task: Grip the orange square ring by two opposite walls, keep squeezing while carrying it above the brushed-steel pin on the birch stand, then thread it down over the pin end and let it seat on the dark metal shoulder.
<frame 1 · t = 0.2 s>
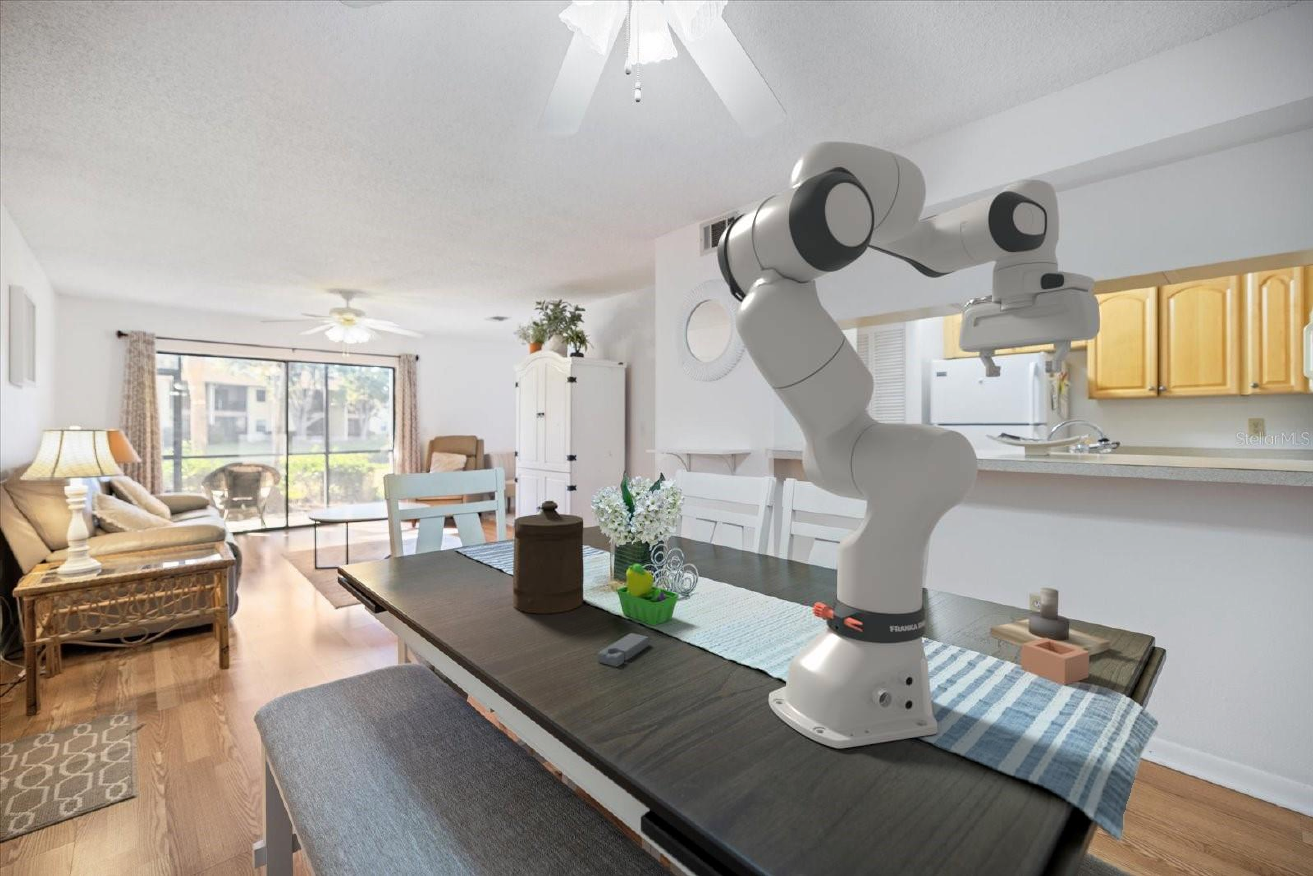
hand: (1021, 374, 92), 47 cm above the table, fingers open, 8 cm apart
bracket: (624, 657, 96), on the table
pin stand: (1048, 642, 102), on the table
orange square ring: (1054, 672, 90), on the table
fruit basket: (644, 618, 114), on the table
wooden container: (548, 604, 122), on the table
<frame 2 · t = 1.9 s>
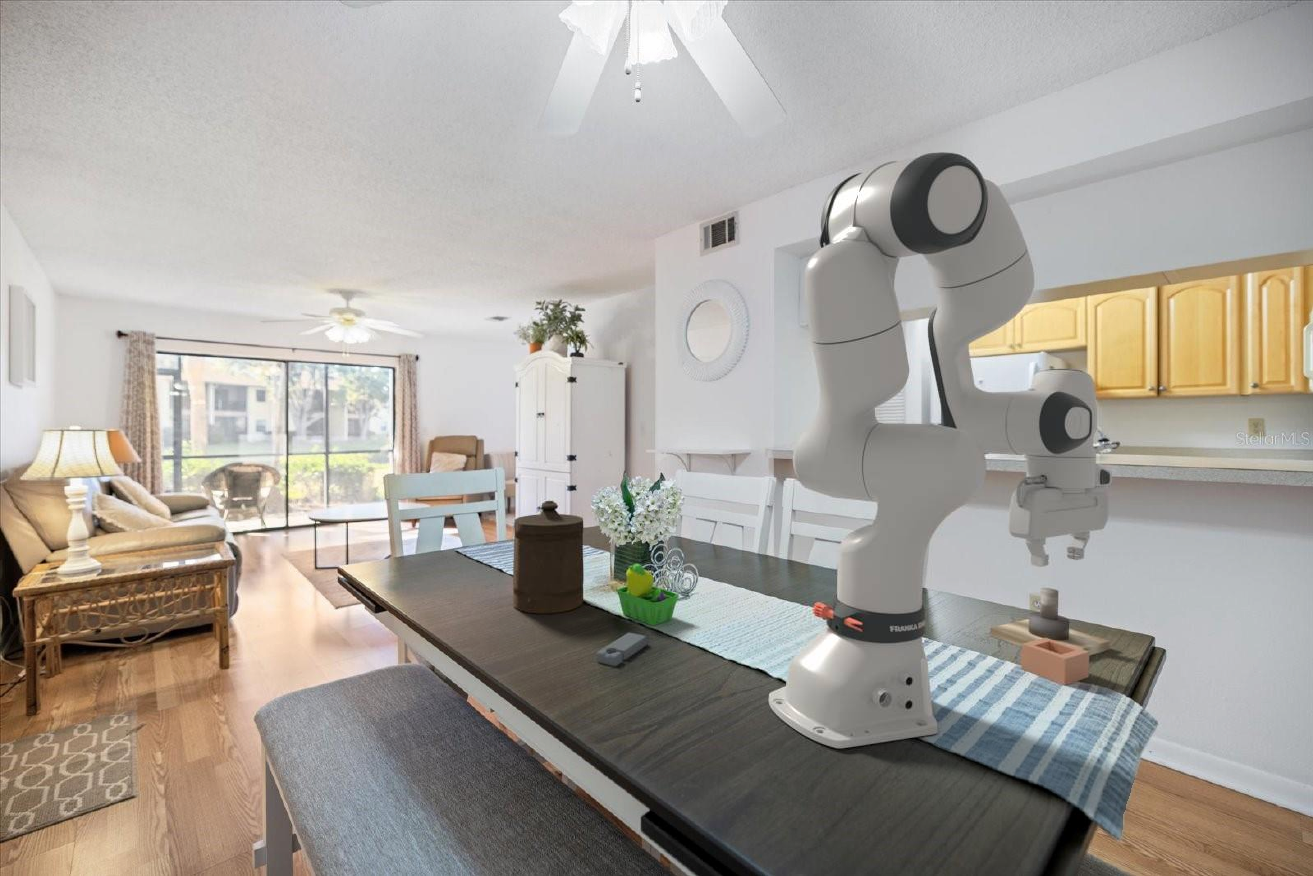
hand: (1057, 562, 89), 18 cm above the table, fingers open, 8 cm apart
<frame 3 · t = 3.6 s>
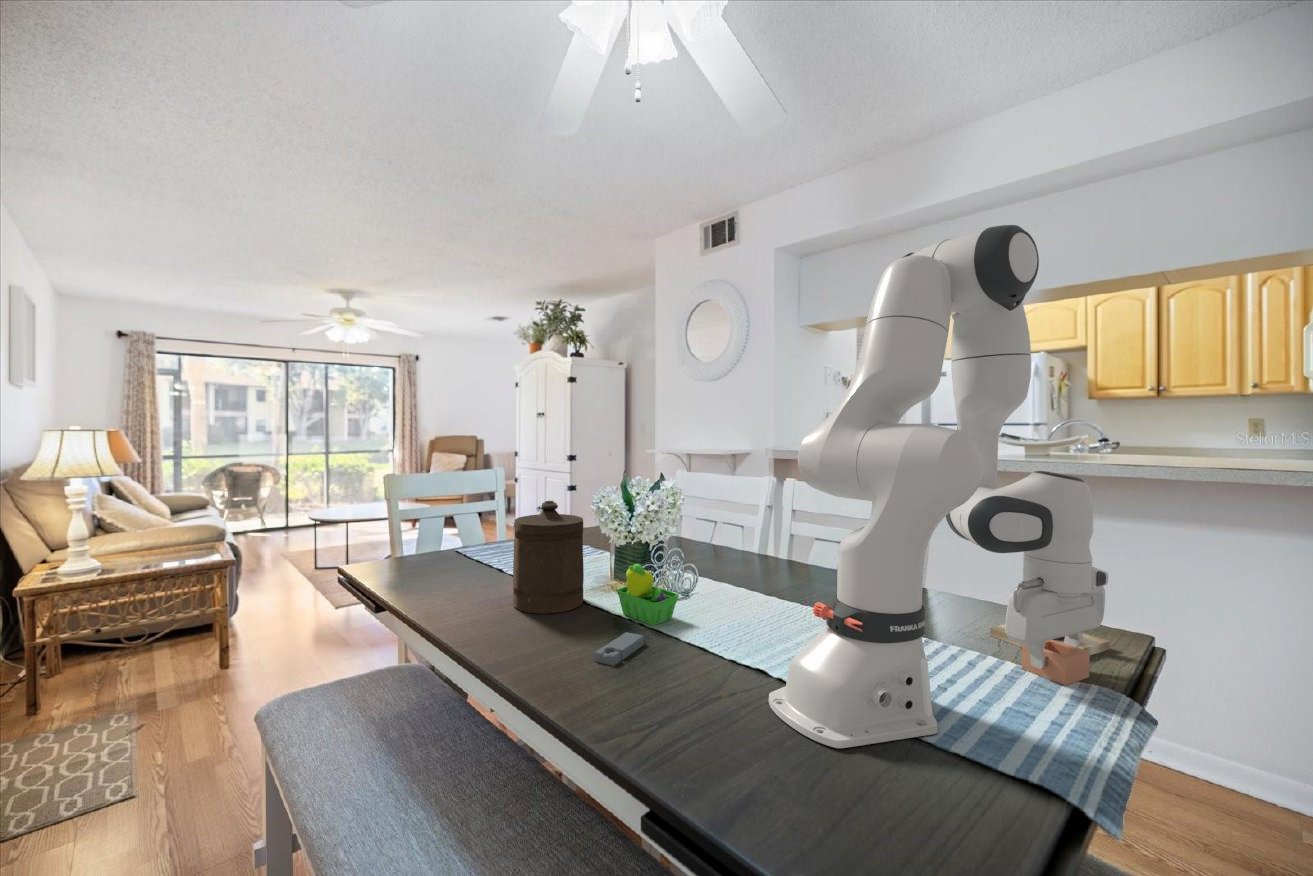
hand: (1054, 662, 90), 2 cm above the table, fingers closed on orange square ring, 6 cm apart
orange square ring: (1054, 673, 90), on the table, touching gripper
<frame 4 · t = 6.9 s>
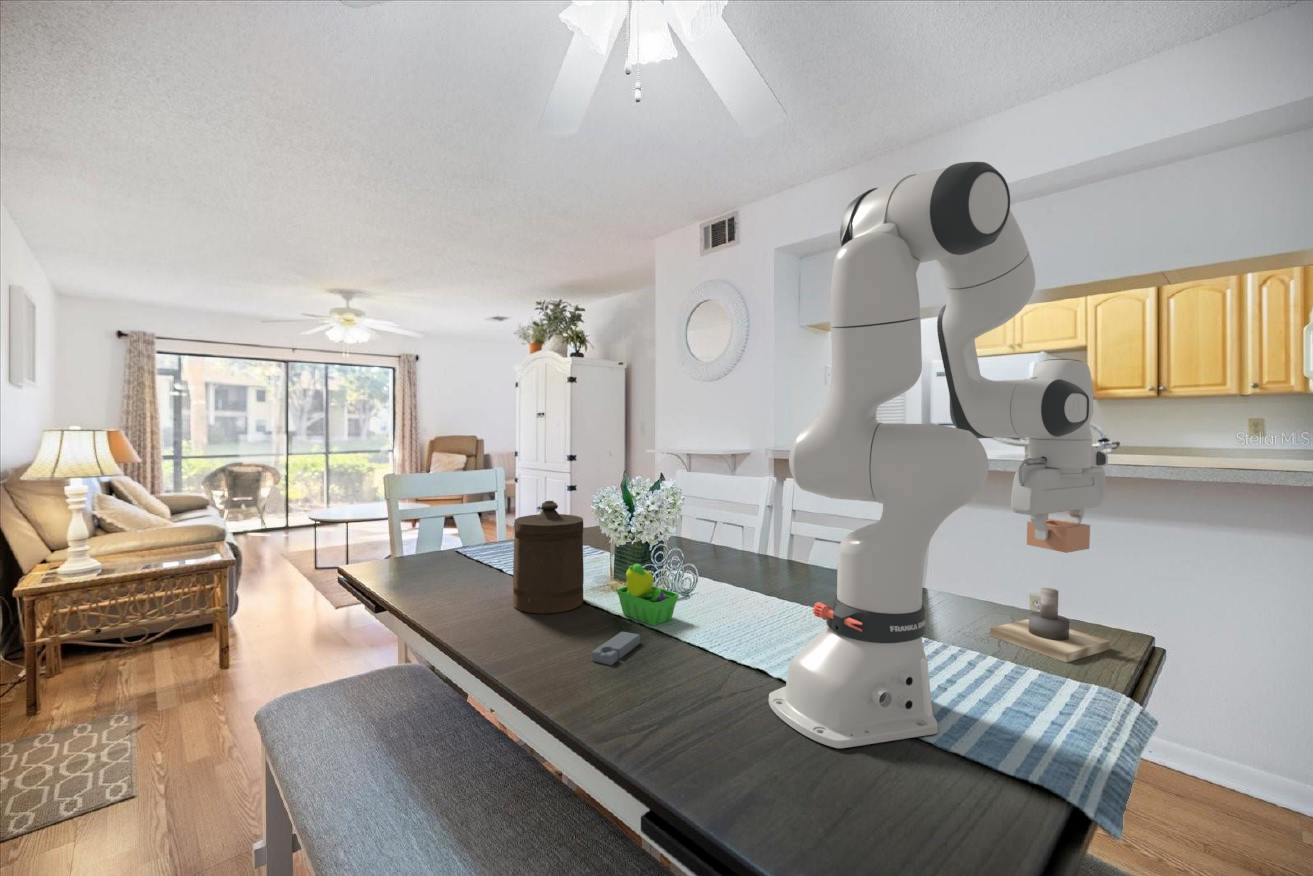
hand: (1057, 537, 97), 20 cm above the table, fingers closed on orange square ring, 6 cm apart
orange square ring: (1057, 546, 97), point 18 cm above the table, touching gripper
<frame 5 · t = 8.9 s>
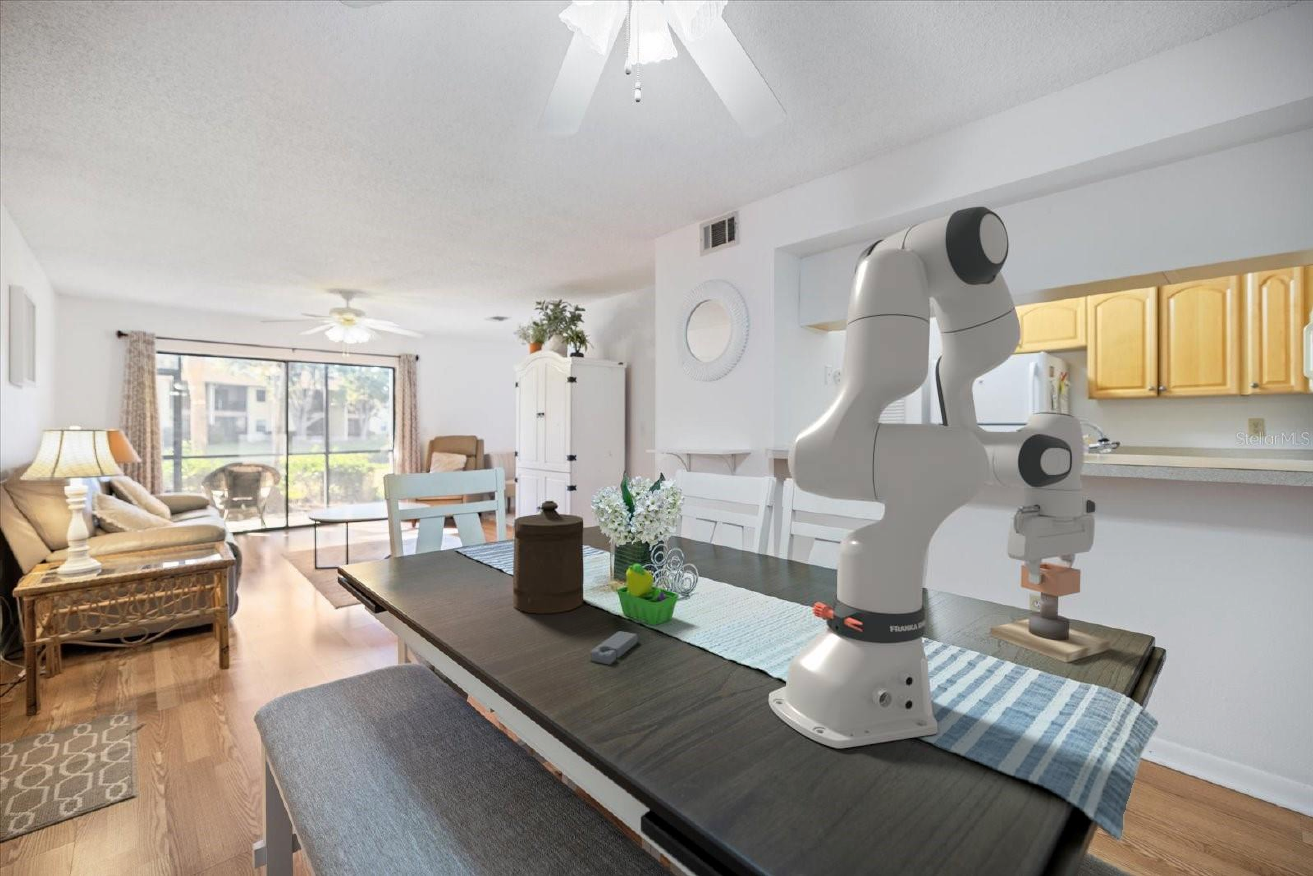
hand: (1049, 580, 102), 11 cm above the table, fingers closed on orange square ring, 6 cm apart
orange square ring: (1049, 589, 102), point 10 cm above the table, touching gripper
when the fingers open (7 cm above the table, at t = 10.2 s): orange square ring stays where it is, resting on pin stand.
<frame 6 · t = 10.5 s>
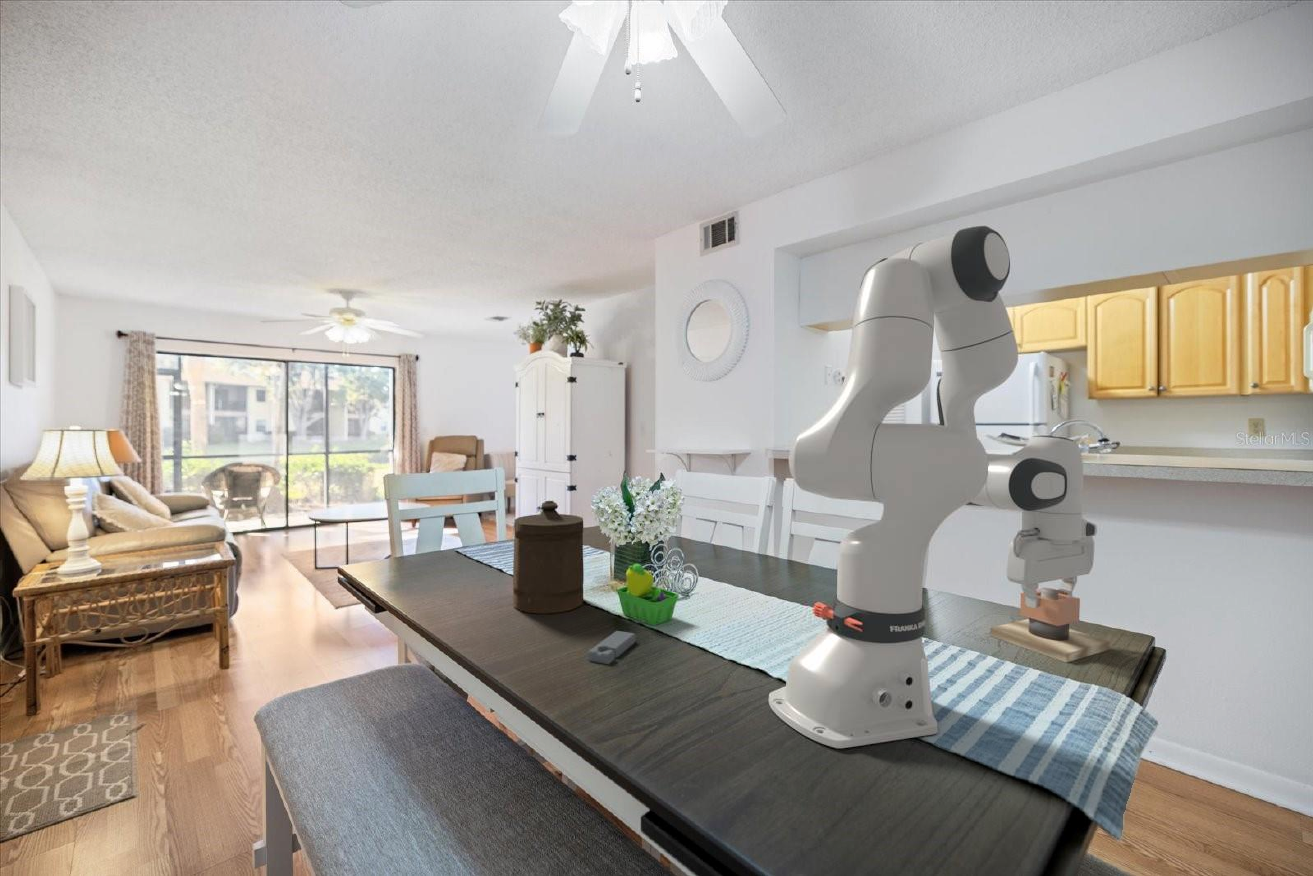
hand: (1049, 603, 102), 7 cm above the table, fingers open, 8 cm apart
orange square ring: (1049, 617, 102), point 4 cm above the table, touching pin stand
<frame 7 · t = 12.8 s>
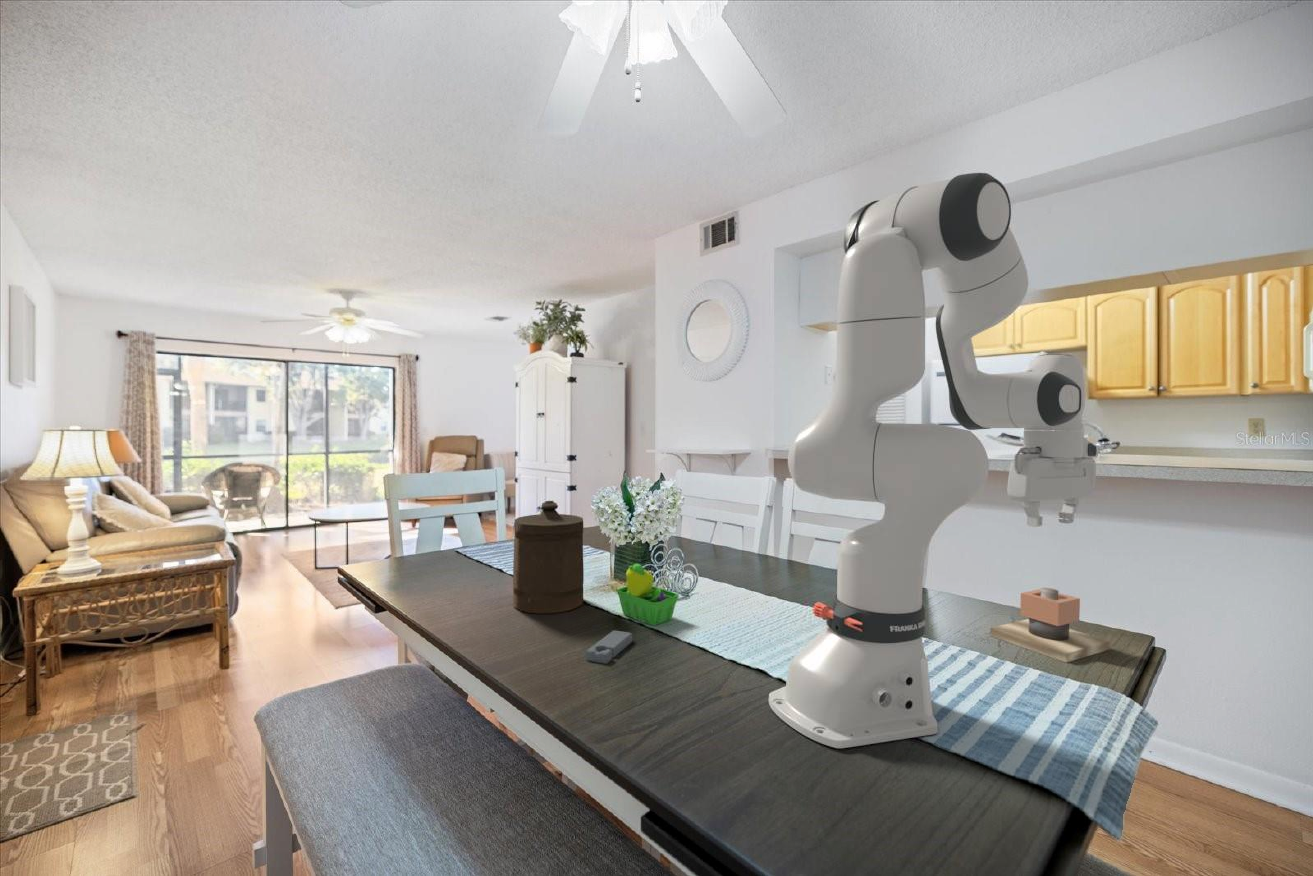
hand: (1050, 524, 102), 21 cm above the table, fingers open, 8 cm apart
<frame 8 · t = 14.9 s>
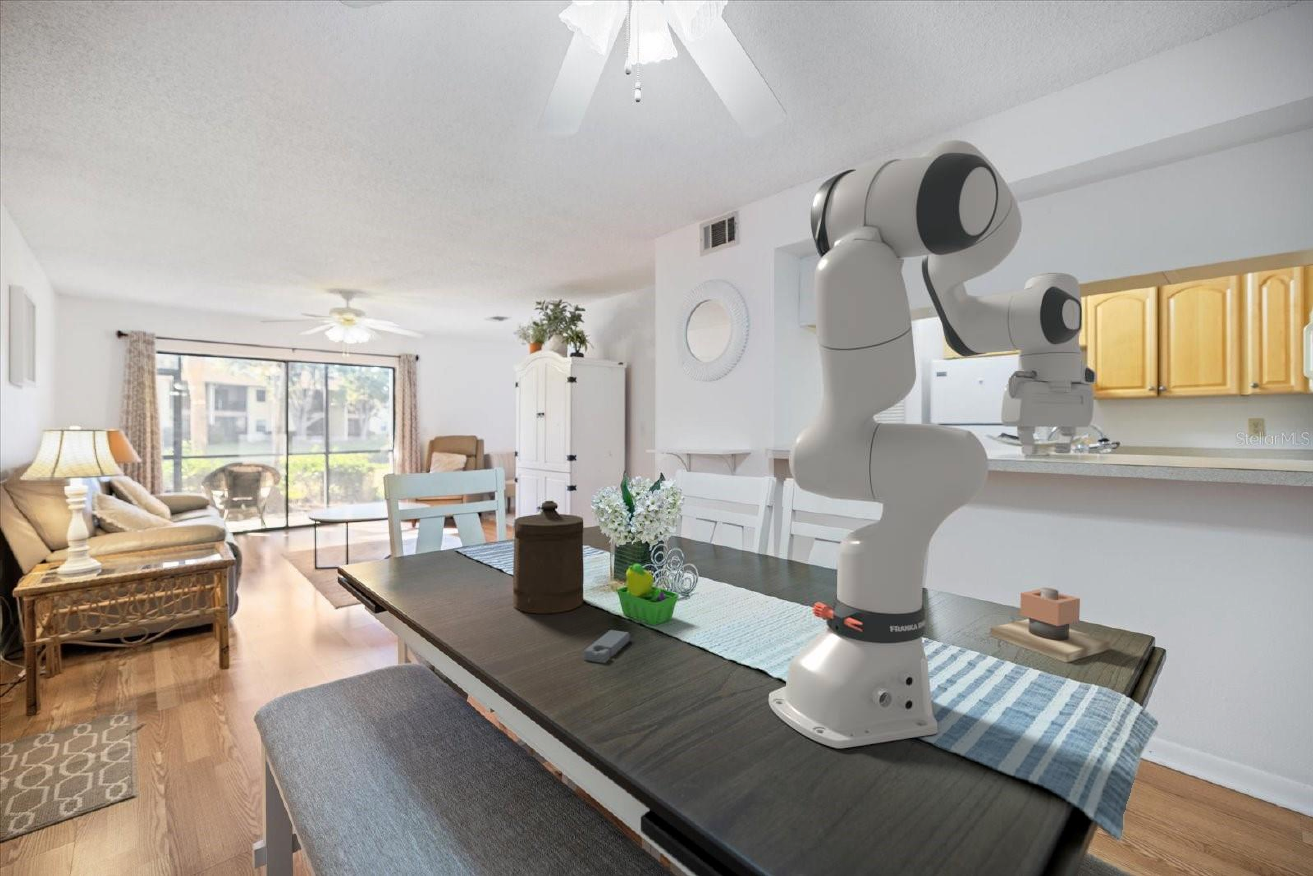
hand: (1046, 454, 97), 34 cm above the table, fingers open, 8 cm apart
at the end: orange square ring 0.1 cm off-centre on the pin stand, point 4.5 cm above the pin stand's base; orange square ring tilted 0°; the gripper is holding nothing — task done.
